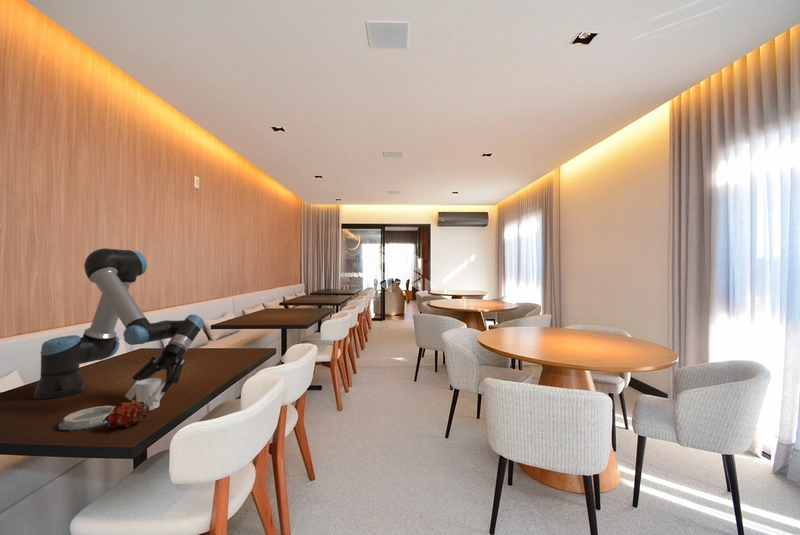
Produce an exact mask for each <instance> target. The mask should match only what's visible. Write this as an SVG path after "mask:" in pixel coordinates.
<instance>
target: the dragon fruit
mask: <svg viewBox="0 0 800 535" xmlns="http://www.w3.org/2000/svg"><path fill="white" fill-rule="evenodd" d="M130 401H131V402H130ZM130 401H129V402H121V403H119V404H120V405H118V406H116V407H115V408H114V409H113V411H112V412H111V413H110V414H109V415H108V416H107V417H106V418H105V420H103V423H104V421H107V422H110V423H108V424H107V427H110V428H122V427H124V426H125V428H129V427H131V426H132V425H137V424H138V423H139V420H143V419H145V418H146V417H147V415H148V412H149V411H148V409H149V407H148V405H146V404H144V402H139V401H138V402H137V401H136V399H135V400H134V399H132V400H130Z"/></svg>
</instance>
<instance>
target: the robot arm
mask: <svg viewBox="0 0 800 535" xmlns="http://www.w3.org/2000/svg"><path fill="white" fill-rule="evenodd" d="M83 266H84V268H83V269H84V272H85V275H86V277H87V278H88V281H90V282H91V283H93V284H96V286H97V289H99V291H100V292H101V295H100V298H99V302H98V305H97V307H96V310H95V313H94V316H93V319H92V321H91V324H90V326H89V328H86V329H84V332H83V335H82V337H80V335H74V334H73V335H66V336H58V337H55V338H54V337H53V338H51V339H48V340H46V341H44V342H43V343H42V345H41V349H40V378H39V380H38V383H37V385H36V386H35V390H34V392H33V399H36V400H51V398H52V399H57V398H63V397H67V396H72V395H75V394H78V393H81V392H83V391H84V390H85V383H84V381H83V378H82V376H81V373H80V365H83V364H87V363H92V362H95V361H102V360H106V359H108V358H111V357H113V356H114V355H115V354H116V353H117V352H118V350H119V348H120V343H121V342H120V338H119V336H118V334H117V331H115V328H116V326H117V322H118V320H120V321H121V323H122V325H123V327H125V330H124V331H123V334H122V335H123V340H124V342H125V343H126V344H128V345H130V346H131V345H132V346H134V345H143V344H147V343H151V342H155V341H157V342H158V341H161V340H168V339H170V340H169V341H168V343H167V344H166V346H165V347H164V349H163V350H162V352H161V356H159V357H158V358H156V357H155V356H153V357H151V359H150V360H149V361H148V362H147V363H146V364H145V365H144V366H142V367H141V369H140V370H138V371H137V372H136V373H135V374H133V376H131V377H132V379H133V380H134V382H133V384H132V385H130V388H129V390H128V391H127V393H126V394H125V395H124V397H125V398H127V399H128V400H129V401H131V400H133V398H134V397H136V382H138V381H141V380H144V379H150V377H152V376H153V375H154V374H155V373H157V372H160V371H162V370H166V372H165V373H166V376H165V377H166V378H165V379H164V381H163V382H161V386H160V388H159V389H158V391H157V392H156V394H155V395H154V397H153V399H154V400H155V401H157V402H159V401H161V399H162V398H163V396H164V394H165V393H167V392H168V390H169V389H170V387H171V386H172V385H173V384H178V383H179V381H180V378H181V373H182V370H183V367H184V365H185V363H186V361H185V360H184V359H183V357H184V356H185V354H186V352H188V349H189V348H190V347H191V345H192V343H193V342H194V341H195V339H196V337H197V336H198V335H199V332H201V331H202V328H203V327H204V324H205V321H204V319H203V318H202V317H201V316H199V315H196V314H189V315H187V316H186V318H184V319H181V320H160V321H158V322H150V320H148V318H147V317H146V315H145V314H144V313H143V311H142V310H141V308H140V307H139V305H138V304H137V302H136V301H135V299H134V298H133V296H132V295H131V293H130V292H129V288H130V285H131V284H133V283H136V280H137V278H138V277H139V276H142V275H144V274H145V272H147V267H148V262H147V259H146V258H145V256H144V255H143V254H142V253H141V252H139V251H137V250H131V249H117V248H116V249H114V248H107V247H106V248H99V249H96V250H94V251H92V252H91V253H89V254H88V255H87V257H86V258H85V261H84V265H83Z"/></svg>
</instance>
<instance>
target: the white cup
mask: <svg viewBox="0 0 800 535" xmlns="http://www.w3.org/2000/svg"><path fill="white" fill-rule="evenodd" d="M162 380H163V379H162V378H160V377H159V378H158V377H152V378H147V379H144V380H141V381H138V382H136V394H135V401H137V402H138V401H139V402H144V404H146V405H148V407H149V409H148V412H149V411H153V410H155V408H156V409H157V408H159V407H160V403H161V402H160V401H161V400H160V401H159V402H157V401H155V400H154V399H153V397H154V395H155V394H156V392H157V391H158V389H159V388H160V386H161V385H162Z"/></svg>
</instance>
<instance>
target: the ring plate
mask: <svg viewBox="0 0 800 535" xmlns="http://www.w3.org/2000/svg"><path fill="white" fill-rule="evenodd" d="M115 407H117V406H116V405H102V406H93V407H90V408H84V409H80V410H78V411H75V412H72V413H70V414H68V415H66V416H64V417H63V420H61V421H60V422H59V423H58V427H59V428H58V430H59V429H61V430H60V431H62V430H69V431H68V432H74V431H73V430H78V431H83V430H82V429H85V430H89V429H88V428H90V429H93V428H94V427H95V428H98V426H99V427H102V426H104V425H108V424H109V423H110V422H107V421H104V423H103V420H105V418H106V417H107V416H108V415H109V414H110V413H111V412H112V411H113V409H114V408H115Z"/></svg>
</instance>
